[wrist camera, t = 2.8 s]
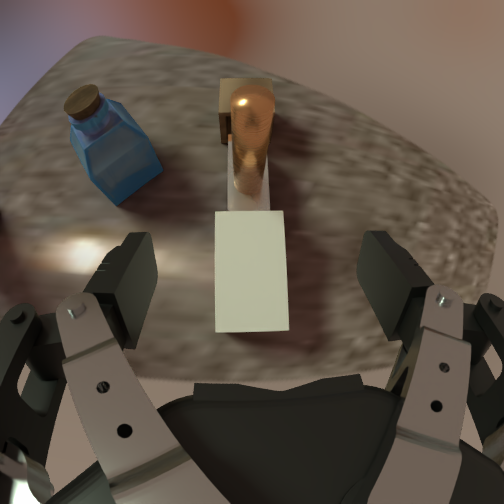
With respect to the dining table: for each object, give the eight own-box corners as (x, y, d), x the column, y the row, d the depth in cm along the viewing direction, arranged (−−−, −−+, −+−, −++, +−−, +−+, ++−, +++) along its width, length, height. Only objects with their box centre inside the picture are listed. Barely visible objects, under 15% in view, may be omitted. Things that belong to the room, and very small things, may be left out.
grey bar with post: (230, 318, 24) (217, 316, 11) (229, 154, 28) (224, 48, 15) (270, 317, 24) (302, 313, 11) (263, 153, 28) (276, 49, 15)
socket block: (221, 143, 29) (218, 112, 24) (222, 109, 31) (220, 78, 25) (270, 143, 30) (274, 112, 25) (267, 109, 31) (271, 78, 26)
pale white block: (220, 330, 25) (215, 332, 20) (220, 232, 27) (215, 211, 22) (279, 328, 25) (289, 330, 20) (275, 231, 27) (283, 210, 22)
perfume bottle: (137, 137, 29) (101, 62, 18) (163, 170, 28) (128, 92, 17) (94, 169, 28) (42, 105, 17) (116, 206, 27) (58, 144, 16)
